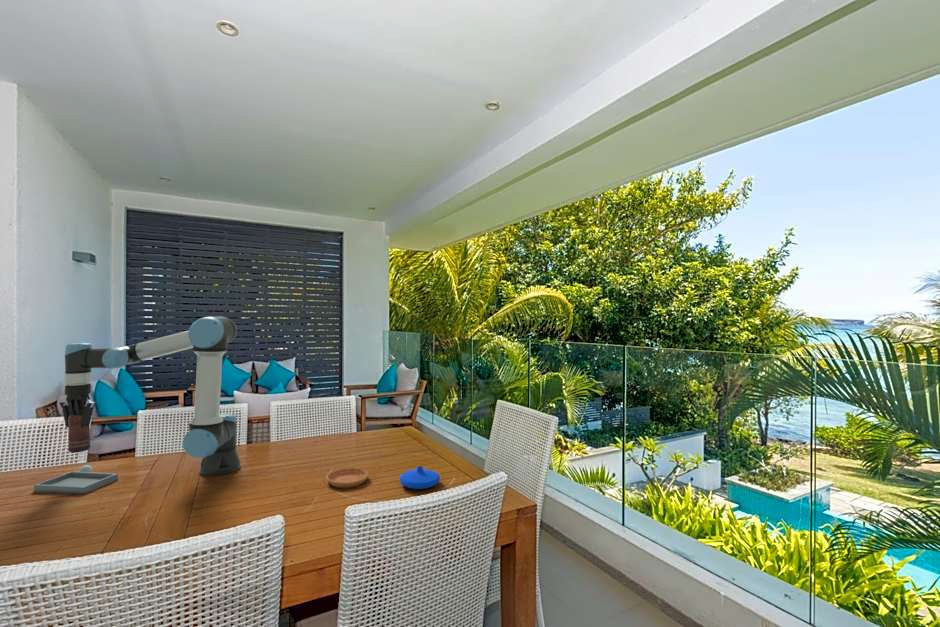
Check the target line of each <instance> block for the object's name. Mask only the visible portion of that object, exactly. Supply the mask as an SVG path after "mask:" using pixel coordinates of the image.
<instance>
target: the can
mask: <svg viewBox="0 0 940 627" xmlns="http://www.w3.org/2000/svg"><path fill="white" fill-rule="evenodd" d="M82 418H83V415H79V416H76V415H69V417H68V427H67V428H68V452H69V453H74V454H75V453H81V452H85V451H88V450H89V449H90V448H91V439H90V438H91V434H90V431H91V430H90V429H91V428H90V426H91V424H90V425H89V426H87V427H84V428H81V423H82ZM77 428H78V429H77Z"/></svg>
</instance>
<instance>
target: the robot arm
mask: <svg viewBox="0 0 940 627" xmlns="http://www.w3.org/2000/svg"><path fill="white" fill-rule="evenodd" d="M237 332H238V328H237V325H236V323H235V321H233V320H232V319H230V318H229V317H226V316H205V317H204V316H203V317H201V318H198V319H197V320H195V321H194V322H192V324H191V325H190V327H189V329H188V330H186V331H182V332H181V331H180V332H176V333H173V334H170V335H165V336H161V337H158V338H154V339H150V340H145V341H143V342H137V343H133V344H129V345H125V346H117V347H107V348H93V347H92V343H89V342H72V343H68V344H66V345H65V351H64V352H65V353H64V363H65V367H64V368H65V371H64V384H65V385H64V395H65V396H66V397H65V400H63V401H61V402H59V405H60V407H61V410H62V414H63V420H64V424H65V427H66V428H68V417H69V415H76V416H79V415H83V418H82V423H81V428H84V427H87V426H89V425H90V426H91V420H92V416H93V414H94V413H93V412H94V408H95V406H96V404H97V402H96V401H92V400H91V397H90V394H91V393H92V384H91V381H92V369H112V370H113V369H121V368H123V367H125V366H126V365H133V364H138V363H140V362H144V361H147V360H150V359H154V358H159V357H163V356H167V355H171V354H174V353H178V352H182V351H186V350H190V349H192V352H193V353H194V354H195V355H196V376H195V392H194V393H195V395H194V410H193V411H194V412H193V417H192V418H191V419H190V420H189V422H188V432H187V433H185V435H184V436H183V439H182V449H183V450H184V451H185V453H186V454H187V455H188V456H190V457H192V458H195V459H202V460H201V462H200V466H199V474H200V475H203V476H222V475H225V474H226V475H227V474H230V473H234V472H236V471H238V470H239V469H240V468H241V466H242V465H241V464H242V461H241V459H240V455H239V453H238V450H237V429H238V428H237V425H238V421H237V416H236V415H235V414H228V413H227V414H225V413H224V414H222V413H221V414H220V412H221V411H220V409H221V408H220V406H221V394H222V393H221V390H222V373H223V372H222V370H223V369H222V368H223V356H224V355H225V354H226V353H227V352H228V346H229V345H228V344H229V343H231V342H232V341H233V340H234V339H235V338H236V336H237V334H238V333H237ZM77 429H78V428H77Z"/></svg>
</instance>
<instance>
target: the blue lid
mask: <svg viewBox="0 0 940 627" xmlns="http://www.w3.org/2000/svg"><path fill="white" fill-rule="evenodd" d="M440 480H441V476H440V475H439V473H438V472H437V471H435V470H431V469H426V468H424V467H423V466H421V465H419V466H417V467H416V469H411V470H407V471H405V472H403V473H402V474H401V475H400V476H399V482H400V484H401V485H403V486H404V487H407V488H409V489H412V490H424V489H429V488H432V487H434V486H435V485H437V484H439V482H440Z"/></svg>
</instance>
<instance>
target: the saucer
mask: <svg viewBox="0 0 940 627" xmlns="http://www.w3.org/2000/svg"><path fill="white" fill-rule="evenodd" d="M367 479H369V472H368V471H367V470H365V469H362V468H355V467H346V468H339V469H335V470H332V471H331V472H329V473H327V475H326V481H327V483H328V484H330V485H331V486H332V487H335V488H338V489H339V488H340V489H349V488H354V487H358V486H361V485H362V484H363V483H364V482H365V481H366V480H367Z"/></svg>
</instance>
